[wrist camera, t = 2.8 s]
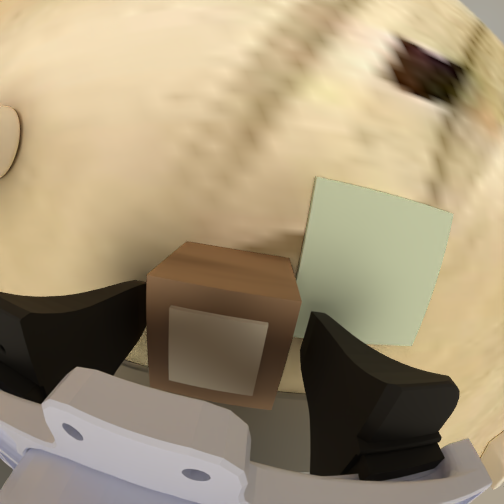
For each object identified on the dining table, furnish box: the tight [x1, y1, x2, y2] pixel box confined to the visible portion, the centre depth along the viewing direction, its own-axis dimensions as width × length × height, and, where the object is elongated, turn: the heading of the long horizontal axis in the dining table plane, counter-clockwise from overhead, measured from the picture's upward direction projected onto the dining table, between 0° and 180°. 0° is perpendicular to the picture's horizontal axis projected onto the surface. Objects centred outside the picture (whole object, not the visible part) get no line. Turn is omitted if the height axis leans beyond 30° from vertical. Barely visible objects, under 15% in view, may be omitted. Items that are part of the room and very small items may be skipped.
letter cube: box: [146, 242, 302, 410], centre depth 11 cm, size 5×5×5 cm
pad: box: [293, 177, 453, 346], centre depth 13 cm, size 8×8×1 cm
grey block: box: [114, 360, 310, 474], centre depth 13 cm, size 4×14×6 cm, turn 81°
